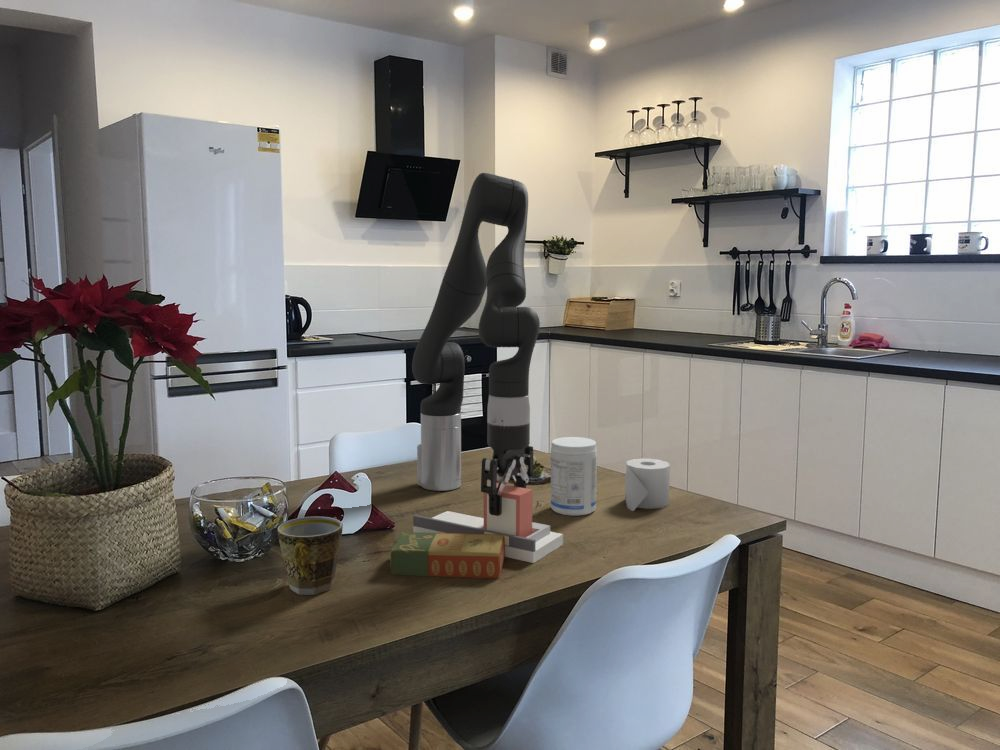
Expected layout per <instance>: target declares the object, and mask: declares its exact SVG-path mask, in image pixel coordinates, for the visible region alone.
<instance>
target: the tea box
mask: <svg viewBox="0 0 1000 750" xmlns="http://www.w3.org/2000/svg"><path fill="white" fill-rule="evenodd" d="M498 484H499V483H497V487H498ZM497 487H496V488H497ZM501 495H502V514H501V515H499V516H495V515H491V514H490V513H489V495H488V493H484V492H483V518H484V529H486V530H491V531H495V532H500V533H505V534H510V535H515V536H520V537H524V538H526V537H527V536H529V535H531V534H532V522H533V489H531V488H527V487H526V488H521V487H515V486H514V485H507V484H505V485H504V488H503V491H502V493H501Z"/></svg>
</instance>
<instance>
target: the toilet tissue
mask: <svg viewBox="0 0 1000 750" xmlns="http://www.w3.org/2000/svg"><path fill="white" fill-rule="evenodd" d="M670 474H671V465H670V463H669V462H668V461H665V460H664V461H663V460H661V459H656V458H648V457H647V458H633V459H629V460H627V461H625V492H624V493H625V494H624V495H625V496H624V501H625V505H626V508H627V509H628V510H630V511H632V512H634V511H636V509H637V508H639V509H646V510H647V509H648V510H651V509H663V508H666V507H667V506H669V505H670V481H671V480H670V476H671V475H670Z"/></svg>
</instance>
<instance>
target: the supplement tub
mask: <svg viewBox="0 0 1000 750" xmlns="http://www.w3.org/2000/svg"><path fill="white" fill-rule="evenodd" d="M597 450H598V449H597V442H596V441H595V440H594V439H592V438H589V437H580V436H564V437H558V438H554V439H553V440H552V441H551V447H550V468H551V479H550V508H551V509H552V510H553V511H554V512H555V513H557V514H559V515H564V516H575V517H576V516H577V517H579V516H585V515H589V514H591V513H593V512H594V511H595V510H596V509H597V471H598V470H597V465H598V463H597V459H598V457H597V452H598V451H597Z"/></svg>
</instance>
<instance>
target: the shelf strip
mask: <svg viewBox="0 0 1000 750" xmlns="http://www.w3.org/2000/svg"><path fill="white" fill-rule="evenodd" d="M412 520H413V522H412V525H413V526H412V528H413V529H412V532H418V533H459V534H501V535H504V538H505V558H509V559H512V560H513V559H514V560H518V561H522V562H528V563H531V564H535V563H537V562H538V561H539V560H541V559H542V558H544V557H546V556H548V555H549V554H550V553H552V552H554V551H555V550H557V549H559V548H560V547H561V546H563V545H564V533H559V532H555V531H551V525H550V524H544V523H538V522H533V521H532V534H531V535H529V536H527V537H526V538H524V537H520V536H515V535H510V534H505V533H500V532H495V531H491V530H486V529H484V517H480V516H479V517H478V516H475V515H474V516H473V515H469V514H464V513H460V512H454V511H450V510H447V511H445V512H442V513H439V514H436V515H435V516H433V517H428V516H423V515H418V514H413V517H412Z"/></svg>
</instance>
